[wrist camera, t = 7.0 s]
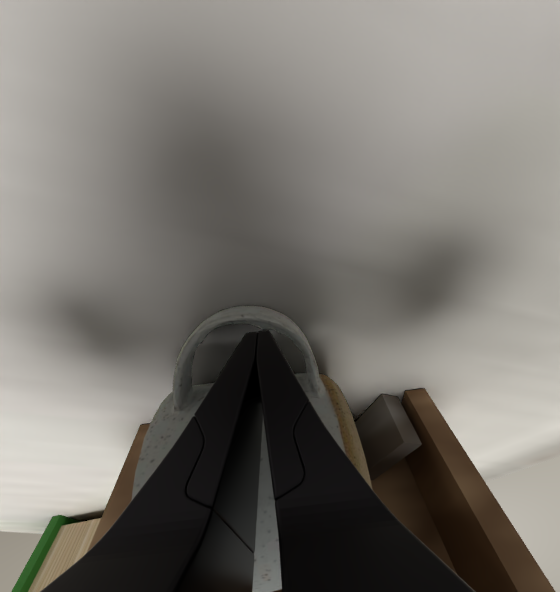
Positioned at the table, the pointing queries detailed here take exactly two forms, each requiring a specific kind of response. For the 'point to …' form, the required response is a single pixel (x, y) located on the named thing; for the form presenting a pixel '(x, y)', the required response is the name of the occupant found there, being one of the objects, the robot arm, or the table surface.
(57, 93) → the table surface
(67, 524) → the hardback book
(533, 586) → the wooden storage tray
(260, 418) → the robot arm
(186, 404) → the ceramic mug
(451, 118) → the table surface
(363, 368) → the table surface
